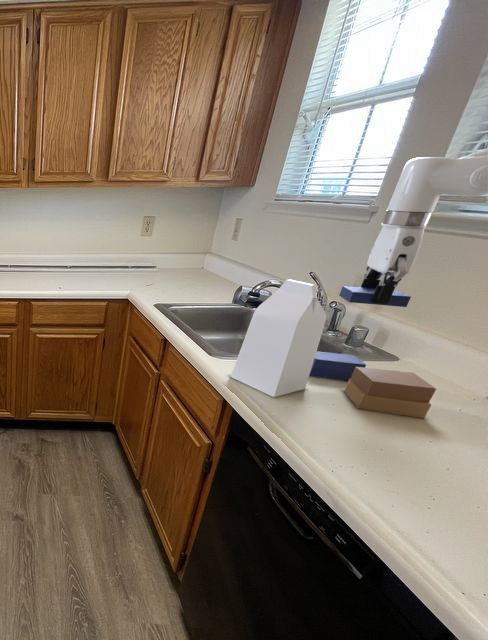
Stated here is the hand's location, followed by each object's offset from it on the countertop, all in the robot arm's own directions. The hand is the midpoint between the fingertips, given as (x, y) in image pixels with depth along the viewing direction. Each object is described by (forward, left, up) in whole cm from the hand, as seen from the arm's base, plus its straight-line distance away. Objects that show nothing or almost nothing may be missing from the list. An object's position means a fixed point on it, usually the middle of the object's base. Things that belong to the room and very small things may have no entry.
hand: (372, 298), depth 100 cm
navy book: (0, 0, -1) cm, 1 cm away
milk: (+18, +9, -22) cm, 30 cm away
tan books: (-5, +12, -22) cm, 25 cm away
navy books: (+1, -3, -22) cm, 22 cm away
